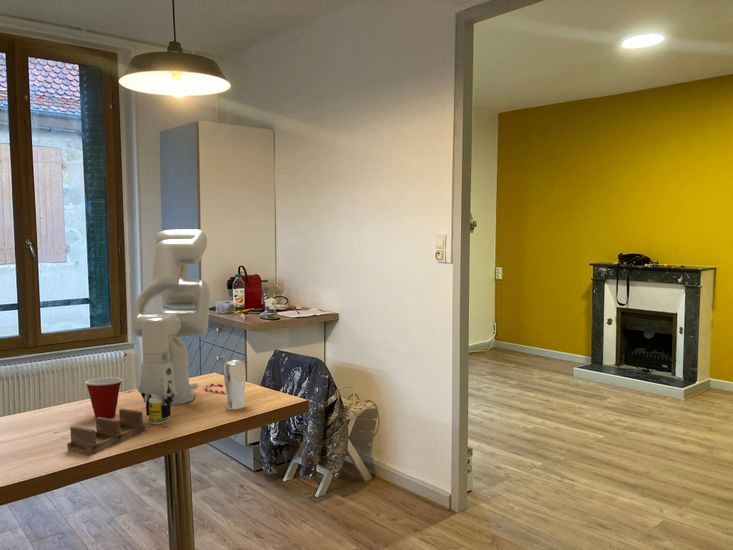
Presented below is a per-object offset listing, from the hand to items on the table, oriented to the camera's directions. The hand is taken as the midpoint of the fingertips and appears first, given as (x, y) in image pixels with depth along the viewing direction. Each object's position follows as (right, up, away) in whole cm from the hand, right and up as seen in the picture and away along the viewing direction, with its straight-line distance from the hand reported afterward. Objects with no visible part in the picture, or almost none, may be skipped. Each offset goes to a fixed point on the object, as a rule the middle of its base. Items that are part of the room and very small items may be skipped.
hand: (158, 415), depth 182 cm
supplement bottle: (0, -2, 0) cm, 2 cm away
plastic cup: (-19, -2, +5) cm, 19 cm away
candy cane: (+10, 0, +34) cm, 35 cm away
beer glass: (+21, -1, +14) cm, 25 cm away
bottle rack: (-8, -3, -16) cm, 18 cm away
